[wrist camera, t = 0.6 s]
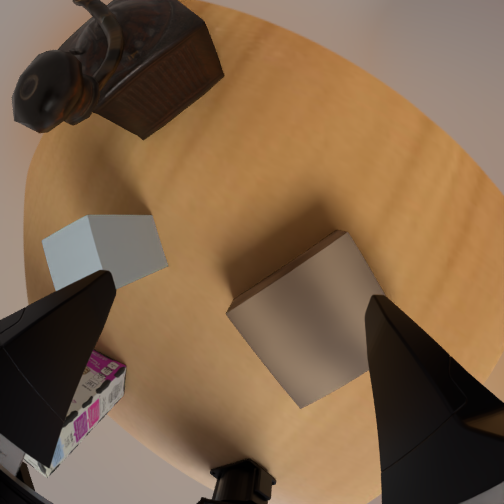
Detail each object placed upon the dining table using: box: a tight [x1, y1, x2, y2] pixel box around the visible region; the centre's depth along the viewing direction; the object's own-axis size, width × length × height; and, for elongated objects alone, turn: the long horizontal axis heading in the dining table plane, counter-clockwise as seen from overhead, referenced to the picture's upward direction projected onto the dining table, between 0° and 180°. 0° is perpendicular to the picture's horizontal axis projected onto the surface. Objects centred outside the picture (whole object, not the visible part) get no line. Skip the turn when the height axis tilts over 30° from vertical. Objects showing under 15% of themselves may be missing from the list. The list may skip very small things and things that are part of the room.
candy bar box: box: [24, 350, 126, 478], centre depth 20 cm, size 11×5×16 cm, turn 74°
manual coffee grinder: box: [12, 0, 224, 140], centre depth 15 cm, size 16×11×18 cm
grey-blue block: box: [42, 215, 168, 291], centre depth 21 cm, size 5×5×10 cm
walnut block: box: [226, 230, 385, 409], centre depth 23 cm, size 11×11×4 cm
